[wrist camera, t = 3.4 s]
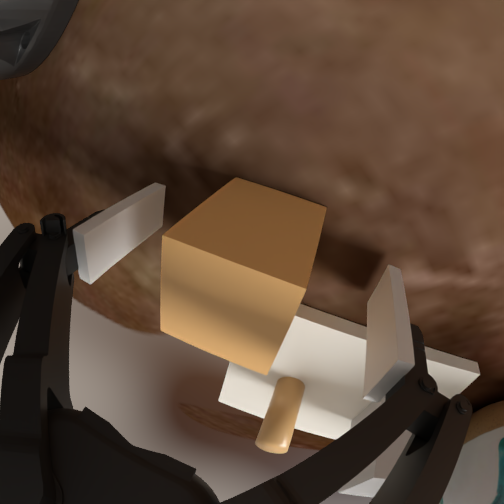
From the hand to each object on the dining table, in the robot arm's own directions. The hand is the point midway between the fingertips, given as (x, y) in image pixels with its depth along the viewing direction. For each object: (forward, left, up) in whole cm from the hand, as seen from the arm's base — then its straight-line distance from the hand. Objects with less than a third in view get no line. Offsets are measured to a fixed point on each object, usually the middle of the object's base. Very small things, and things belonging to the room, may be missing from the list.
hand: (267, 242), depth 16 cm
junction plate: (+9, -11, -1) cm, 14 cm away
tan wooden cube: (0, 0, -1) cm, 1 cm away
